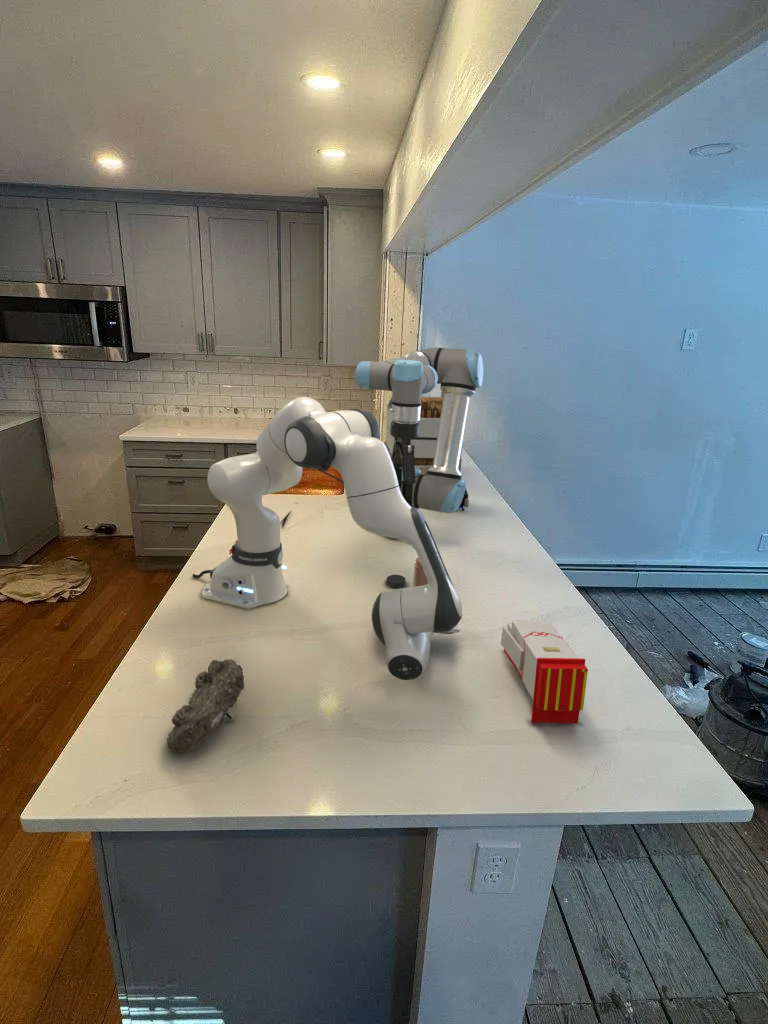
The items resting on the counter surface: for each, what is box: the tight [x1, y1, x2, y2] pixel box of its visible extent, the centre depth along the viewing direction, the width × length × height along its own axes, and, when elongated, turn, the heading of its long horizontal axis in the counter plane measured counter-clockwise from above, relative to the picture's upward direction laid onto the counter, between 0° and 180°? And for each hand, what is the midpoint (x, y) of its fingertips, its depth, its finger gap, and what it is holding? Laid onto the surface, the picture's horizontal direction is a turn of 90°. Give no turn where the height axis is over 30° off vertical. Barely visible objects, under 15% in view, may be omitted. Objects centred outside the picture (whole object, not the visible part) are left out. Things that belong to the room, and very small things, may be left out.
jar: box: [412, 556, 429, 587], centre depth 147 cm, size 5×5×15 cm
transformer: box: [383, 391, 464, 474], centre depth 268 cm, size 34×33×41 cm
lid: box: [385, 574, 407, 589], centre depth 163 cm, size 6×6×2 cm
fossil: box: [166, 658, 245, 754], centre depth 106 cm, size 22×10×15 cm
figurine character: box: [458, 486, 470, 512], centre depth 229 cm, size 7×8×15 cm
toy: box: [500, 620, 589, 724], centre depth 121 cm, size 12×13×30 cm
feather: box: [280, 510, 292, 528], centre depth 213 cm, size 2×28×2 cm
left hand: (420, 599), depth 142 cm, fingers open, 8 cm apart
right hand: (400, 498), depth 155 cm, fingers open, 13 cm apart
